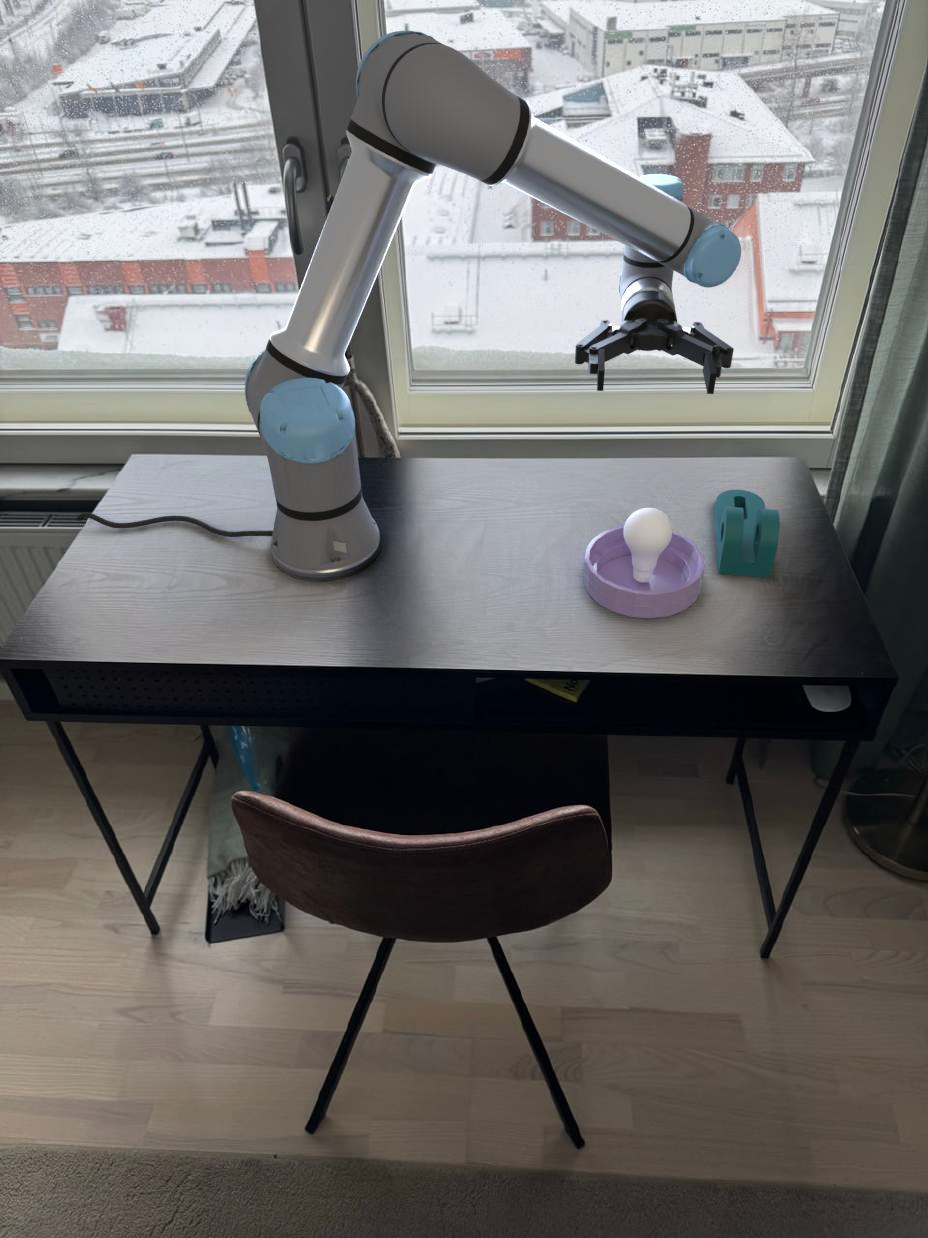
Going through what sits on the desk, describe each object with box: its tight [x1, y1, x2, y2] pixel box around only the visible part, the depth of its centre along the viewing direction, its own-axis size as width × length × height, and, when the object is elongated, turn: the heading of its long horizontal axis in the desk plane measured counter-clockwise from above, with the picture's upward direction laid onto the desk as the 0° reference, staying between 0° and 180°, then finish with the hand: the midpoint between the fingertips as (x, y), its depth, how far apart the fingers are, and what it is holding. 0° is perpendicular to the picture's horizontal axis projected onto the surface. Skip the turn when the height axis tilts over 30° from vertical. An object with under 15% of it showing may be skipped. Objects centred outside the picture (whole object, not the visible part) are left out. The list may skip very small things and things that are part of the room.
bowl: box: [583, 525, 706, 619], centre depth 122 cm, size 15×15×4 cm
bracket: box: [713, 489, 781, 579], centre depth 129 cm, size 18×7×8 cm, turn 171°
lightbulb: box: [623, 507, 673, 583], centre depth 120 cm, size 6×6×11 cm
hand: (656, 382), depth 116 cm, fingers open, 13 cm apart
